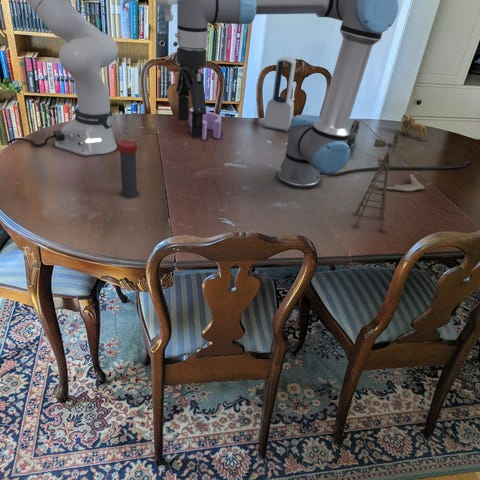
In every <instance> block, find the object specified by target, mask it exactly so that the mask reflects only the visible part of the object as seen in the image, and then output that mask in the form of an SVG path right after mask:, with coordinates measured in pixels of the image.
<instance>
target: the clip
mask: <svg viewBox="0 0 480 480" xmlns="http://www.w3.org/2000/svg"><path fill="white" fill-rule="evenodd" d="M192 111H193V106H191V107H190V108H189V117H188V121H189V122H188V125H189V127H190V134H192V115H191V112H192ZM207 130H211V131H213V132H212V137H213V138H215V139H218V140H219V139H221V131H222V116H221V115H219V114H217V113H215V112H211V111H210V109H209V108H207V107H206V114H203V126H202V138H201V140H206V139H207Z"/></svg>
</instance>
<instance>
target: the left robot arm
mask: <svg viewBox="0 0 480 480" xmlns="http://www.w3.org/2000/svg"><path fill="white" fill-rule="evenodd" d="M25 1H26V3H27V5H29V6H30V8H31V9H32V10H33V12H34V13H35V14H36V16H37V17H38V18H39V19H40V20H41V22H42V23H43V24H44V26H46V28H47V29H48V30H49V31H50V32H51V34H53V35H54V36H55V37H57V38H60V39H61V40H64V41H65V42H66V43H65V44H63V45H62V46H61V47H60V49H59V52H58V59H59V62H60V65H61V67H62V68H63V69H64V70H65V71H66V72H67V73H68V74H69V75H70V77H71V79H72V82H73V83H74V87H75V92H76V101H77V108H76V109H75V110H74V111H71V115H72V116H74V115H75V116H74V118H73V119H72V120H71V121H69V122H68V123H67V124H65V125H64V126H63V127H62V128H61V130H60V129H59V130H57V129H56V130H52V135H50V136H47V137H46V138H44V141H43V142H42V143H39V144H36V143H35V141H34V140H32V139H29V138H22V137H14V138H12V139H9V141H7V144H11V143H12V142H15V141H23V142H28V143H31V145H32V146H33V147H42V146H44V145H46V144H47V143H48V140H50V139H55V142H54V146H55V147H57V148H59V149H62V150H65V151H69V152H72V153H74V154H78V155H80V156H84V157H85V156H86V157H87V156H92V155H105V154H108V153H111V152H114V151H115V150H116V149H117V148H118V145H117V142H116V140H115V135H114V131H113V111H112V109H111V97H110V88H109V87H108V85H107V84H105V83H104V80H103V78H102V74H101V70H102V69H103V68H106V67H108V66H110V65H111V64H112V63H113V62H114V61H115V60H117V57H118V55H119V47H118V44H117V41H116V40H115V39H114V38H113V37H112V36H111V35H109V34H107V33H104V32H103V31H101V30H100V29H99V28H98V27H96V26H95V25H93V24H92V23H91V22H90V21H89V20H88V19H86V18H85V17H84V16H83V15H82V14H81V13H80V12H79V11H78V10H77V9H76V8H75V6H74V5H73V4H72V3H71V2H70V0H25ZM155 1H156V4H157V5H159V6H163V12H164V16H165V17H164V18H165V22H172V21H173V18H174V15H173V14H172V13H173V12H172V9H173V6H174V5H177V0H155Z"/></svg>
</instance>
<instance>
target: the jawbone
mask: <svg viewBox="0 0 480 480" xmlns="http://www.w3.org/2000/svg"><path fill="white" fill-rule="evenodd" d="M409 179H410V184H409V183H408V184H393V186H387V189H386V190H391V191H400V192H409V193H410V192H415V191H419V190H425V189H426V187H425V185H424V184H422V183H421V182H419V181H418V179H417V177H415V176H414V174H413V173H410V174H409ZM377 186H380V187H384V185H380V184H378V185H377ZM378 189H380V190H383V188H378Z"/></svg>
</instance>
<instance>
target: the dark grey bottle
mask: <svg viewBox="0 0 480 480" xmlns="http://www.w3.org/2000/svg"><path fill="white" fill-rule="evenodd" d="M136 152H137V151H136ZM136 152H134V153H129V154H127V153H122V152H120V151H119V156H120V157H119V159H120V175H121V176H120V178H121V195H122V196H123V197H124V198H134V197H136V196H137V195H138V187H137V186H138V185H137V183H138V181H137V180H138V179H137V153H136Z"/></svg>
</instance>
